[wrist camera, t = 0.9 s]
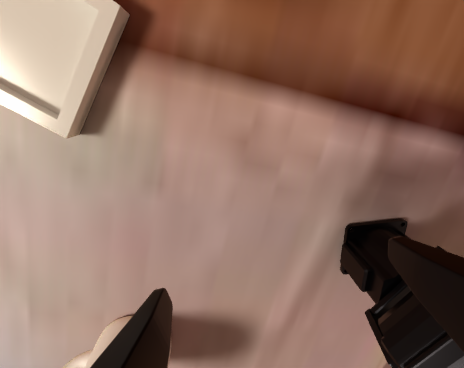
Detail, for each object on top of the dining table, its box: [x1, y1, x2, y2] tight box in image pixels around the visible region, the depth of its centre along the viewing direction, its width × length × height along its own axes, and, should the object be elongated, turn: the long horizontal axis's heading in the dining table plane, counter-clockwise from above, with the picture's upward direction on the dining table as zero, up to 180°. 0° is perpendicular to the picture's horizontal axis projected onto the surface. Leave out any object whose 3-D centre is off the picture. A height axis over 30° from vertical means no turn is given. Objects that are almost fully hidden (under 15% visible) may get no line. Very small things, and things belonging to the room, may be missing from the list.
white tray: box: [0, 0, 130, 139], centre depth 15 cm, size 10×10×2 cm
